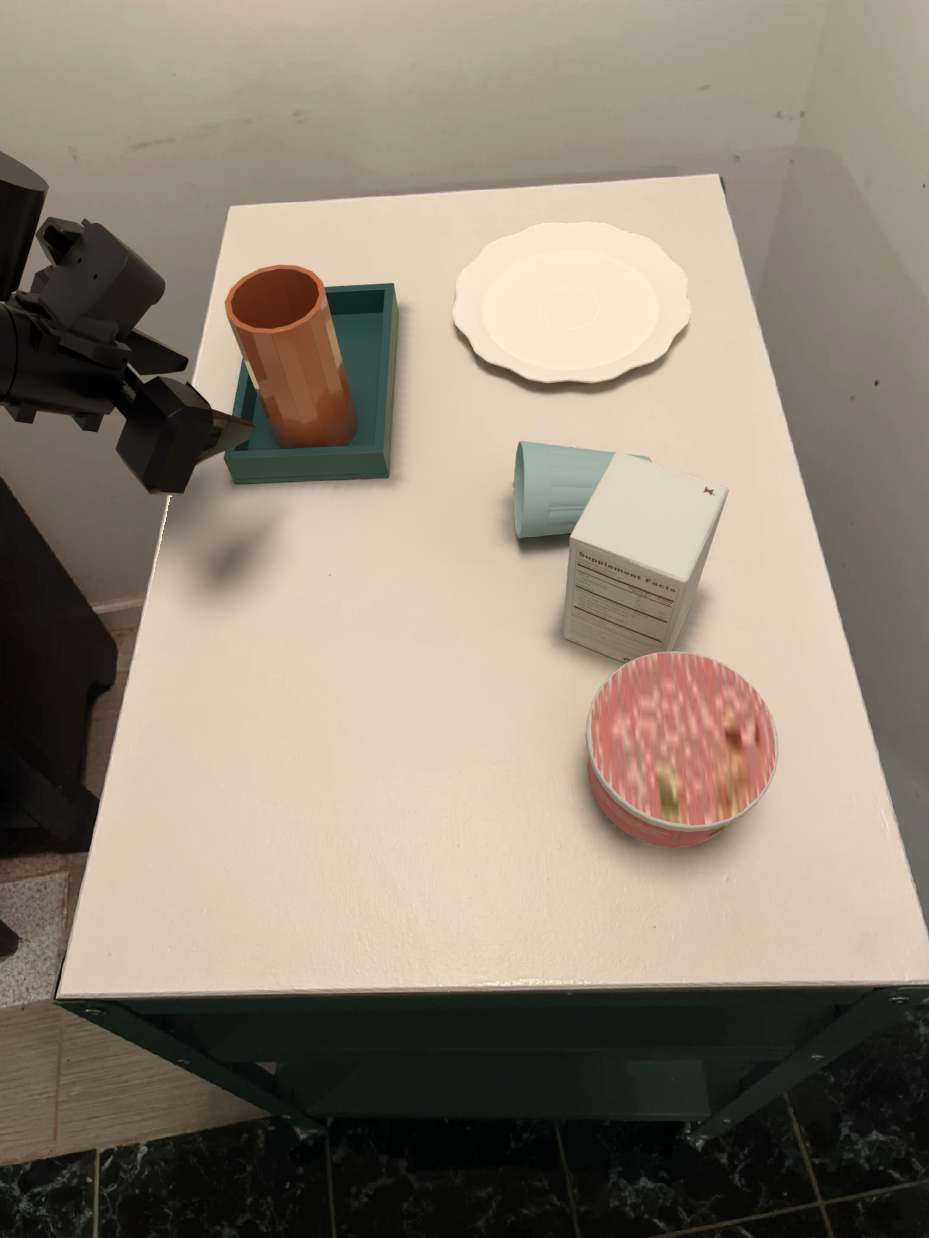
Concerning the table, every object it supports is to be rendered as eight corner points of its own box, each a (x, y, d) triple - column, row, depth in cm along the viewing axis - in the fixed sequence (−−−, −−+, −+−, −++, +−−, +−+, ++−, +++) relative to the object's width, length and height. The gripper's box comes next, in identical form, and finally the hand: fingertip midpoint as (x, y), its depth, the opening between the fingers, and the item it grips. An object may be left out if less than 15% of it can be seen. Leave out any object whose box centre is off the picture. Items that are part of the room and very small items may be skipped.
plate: (734, 339, 72) (739, 324, 70) (522, 429, 68) (522, 415, 67) (609, 211, 81) (610, 195, 80) (417, 284, 78) (415, 268, 76)
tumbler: (324, 471, 67) (283, 345, 55) (257, 440, 69) (204, 312, 57) (374, 414, 69) (344, 283, 58) (308, 385, 71) (267, 253, 60)
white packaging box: (600, 560, 61) (616, 445, 50) (696, 597, 59) (735, 485, 48) (558, 639, 58) (565, 535, 47) (658, 681, 56) (689, 582, 45)
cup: (629, 492, 66) (510, 491, 66) (648, 422, 60) (519, 420, 60) (643, 557, 62) (517, 556, 61) (665, 488, 56) (526, 487, 56)
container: (581, 862, 51) (590, 825, 44) (576, 704, 56) (583, 649, 49) (756, 865, 50) (793, 829, 43) (734, 705, 55) (765, 650, 48)
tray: (388, 477, 67) (383, 452, 64) (235, 484, 67) (223, 459, 65) (398, 311, 76) (393, 282, 74) (264, 318, 77) (254, 290, 74)
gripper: (115, 303, 40) (341, 364, 53) (-37, 146, 48) (192, 232, 60) (48, 492, 45) (271, 507, 57) (-80, 322, 52) (141, 368, 65)
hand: (218, 396), depth 60 cm, fingers open, 9 cm apart
